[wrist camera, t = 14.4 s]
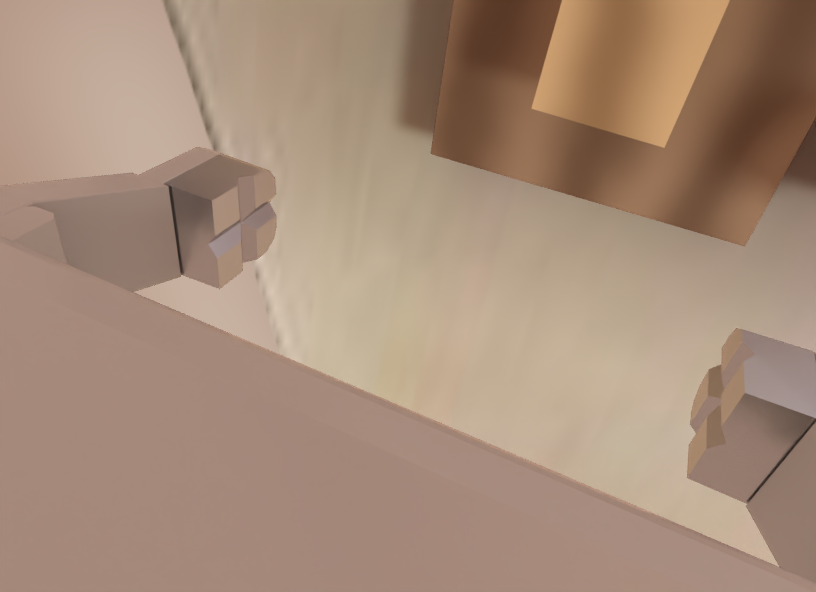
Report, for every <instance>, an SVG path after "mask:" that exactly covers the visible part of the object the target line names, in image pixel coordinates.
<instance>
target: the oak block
mask: <svg viewBox="0 0 816 592" xmlns="http://www.w3.org/2000/svg"><path fill="white" fill-rule="evenodd" d="M729 1H730V0H562V2H561V6H560V9H559V13H558V16H557V20H556V23H555V27H554V30H553V34H552V37H551V41H550V44H549V48H548V52H547V55H546V59H545V62H544V66H543V69H542V73H541V76H540V80H539V83H538V87H537V90H536V94H535V97H534V101H533V104H532V108H531V109H534V110H538V111H541V112H545V113H548V114H551V115H555V116H558V117H561V118H565V119H568V120H572V121H575V122H578V123H582V124H585V125H589V126H592V127H595V128H599V129H602V130H606V131H609V132H612V133H616V134H619V135H622V136H626V137H629V138H633V139H636V140H639V141H643V142H646V143H650V144H653V145H656V146H660V147H663V148H665V145H666V143H667V141H668V139H669V136H670V134H671V132H672V130H673V127H674V125H675V123H676V121H677V118H678V116H679V114H680V112H681V109H682V107H683V105H684V103H685V100H686V98H687V96H688V94H689V91H690V89H691V87H692V85H693V82H694V80H695V78H696V76H697V73H698V71H699V69H700V67H701V64H702V62H703V60H704V58H705V55H706V53H707V51H708V49H709V46H710V44H711V42H712V40H713V37H714V35H715V33H716V31H717V28H718V26H719V24H720V22H721V19H722V17H723V15H724V13H725V10H726V8H727V6H728V4H729Z"/></svg>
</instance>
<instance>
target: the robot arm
mask: <svg viewBox="0 0 816 592" xmlns="http://www.w3.org/2000/svg"><path fill="white" fill-rule="evenodd" d="M275 195H276V184H275V177H274V176H273V174H272V173H271V172H270V171H269V170H266V169H263V168H261V167H258V166H255V165H252V164H250V163H247V162H244V161H241V160H238V159H236V158H233V157H230V156H227V155H224V154H223V153H219V152H216V151H213V150H210V149H206V148H201V147H196V148H194V149H192V150H190V151H188V152H185V153H183V154H181V155H179V156H177V157H175V158H173V159H171V160H169V161H167V162H165V163H163V164H161V165H158V166H156V167H154V168H152V169H150V170H148V171H146V172H144V173H142V174H140V175H137V174H134V173H124V174H114V175H104V176H94V177H84V178H74V179H63V180H53V181H43V182H33V183H23V184H13V185H2V186H0V592H816V352H813V351H810V350H807V349H804V348H801V347H797V346H794V345H791V344H788V343H784V342H781V341H778V340H775V339H772V338H768V337H765V336H762V335H759V334H755V333H752V332H749V331H746V330H743V329H738V328H736V329H735V330H734V331H733V333H732V334H731V335H730V336H729V337H728V339H727V341H726V342H725V344H724V345H723V347H722V362H721V365H718V366H716V367H713V368H711V369H709V370H708V372H707V374H706V375H705V377H704V379H703V381H702V383H701V384H700V386H699V389H698V391H697V394H696V397H695V399H694V402H693V407H692V411H691V420H690V425H691V426H692V428H693V429H694V431H695V432H696V435H695V436H694V438H693V439H692V441H691V443H690V444H689V450H688V469H687V478H688V479H691V480H693V481H695V482H698V483H700V484H702V485H705V486H707V487H709V488H712V489H714V490H716V491H719V492H721V493H723V494H726V495H728V496H730V497H732V498H735V499H737V500H739V501H742V502H744V503H746V504H747V505H746V507H747V509H748V511H749V512H750V514H751V516H752V518H753V520H754V522H755V523H756V525H757V527H758V529H759V531H760V532H761V534H762V536H763V538H764V540H765V541H766V543H767V545H768V547H769V549H770V551H771V552H772V554H773V556H774V558H775V560H776V561H777V563H778V565H779V567H778V566H775V565H773V564H771V563H768V562H766V561H764V560H761V559H759V558H757V557H754V556H752V555H750V554H747V553H745V552H743V551H740V550H738V549H736V548H733V547H731V546H729V545H726V544H724V543H721V542H719V541H717V540H714V539H712V538H710V537H707V536H705V535H703V534H700V533H698V532H696V531H693V530H691V529H689V528H686V527H684V526H682V525H679V524H677V523H674V522H672V521H670V520H667V519H665V518H663V517H660V516H658V515H656V514H653V513H651V512H649V511H646V510H644V509H642V508H639V507H637V506H634V505H632V504H630V503H627V502H625V501H623V500H620V499H618V498H616V497H613V496H611V495H609V494H606V493H604V492H602V491H599V490H597V489H594V488H592V487H590V486H587V485H585V484H583V483H580V482H578V481H576V480H573V479H571V478H569V477H566V476H564V475H562V474H559V473H557V472H554V471H552V470H550V469H547V468H545V467H543V466H540V465H538V464H536V463H533V462H531V461H529V460H526V459H524V458H522V457H519V456H517V455H514V454H512V453H510V452H507V451H505V450H503V449H500V448H498V447H496V446H493V445H491V444H489V443H486V442H484V441H482V440H479V439H477V438H475V437H472V436H470V435H467V434H465V433H463V432H460V431H458V430H456V429H453V428H451V427H449V426H446V425H444V424H442V423H439V422H437V421H435V420H432V419H430V418H427V417H425V416H423V415H420V414H418V413H416V412H413V411H411V410H409V409H406V408H404V407H402V406H399V405H397V404H395V403H392V402H390V401H387V400H385V399H383V398H380V397H378V396H376V395H373V394H371V393H369V392H366V391H364V390H362V389H359V388H357V387H355V386H352V385H350V384H348V383H345V382H343V381H341V380H338V379H336V378H333V377H331V376H329V375H326V374H324V373H322V372H319V371H317V370H315V369H312V368H310V367H308V366H305V365H303V364H301V363H298V362H296V361H294V360H291V359H289V358H286V357H284V356H282V355H279V354H277V353H275V352H272V351H270V350H268V349H265V348H263V347H261V346H258V345H256V344H253V343H251V342H249V341H247V340H244V339H242V338H239V337H237V336H235V335H232V334H230V333H228V332H225V331H223V330H221V329H218V328H216V327H214V326H211V325H209V324H206V323H204V322H202V321H200V320H197V319H195V318H192V317H190V316H188V315H185V314H183V313H181V312H178V311H176V310H174V309H171V308H169V307H167V306H164V305H162V304H160V303H157V302H155V301H153V300H150V299H147V298H146V297H143V296H141V295H138V294H136V293H134V292H135V291H138V290H141V289H144V288H147V287H150V286H153V285H156V284H160V283H163V282H166V281H169V280H172V279H174V278H178V277H181V275H184V276H186V277H189V278H192V279H195V280H197V281H200V282H203V283H205V284H208V285H211V286H213V287H216V288H219V289H220V288H222V287H223V286H224V285H225V284H227V283H228V282H229V281H230V280H232V279H233V278H234V277H236V276H237V275H238V274H239V273H241V272H242V271H243V262H247V261H252V260H257V259H258V258H260V257H261V256H262V255H263V254H264V253H265V252H267V250H268V248H269V246H270V245H271V243H272V241H273V239H274V236H275V231H276V214H275V212H274V210H273V208H272V206H271V205H270V203H269V202H270V201H271V200H272V199H273V197H274V196H275Z"/></svg>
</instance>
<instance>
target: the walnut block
mask: <svg viewBox="0 0 816 592" xmlns="http://www.w3.org/2000/svg"><path fill="white" fill-rule="evenodd" d="M561 2H562V0H454V1H453V8H452V15H451V21H450V28H449V35H448V41H447V48H446V55H445V61H444V68H443V75H442V81H441V88H440V95H439V101H438V108H437V115H436V121H435V128H434V135H433V141H432V148H431V154H433V155H436V156H440V157H443V158H446V159H450V160H453V161H457V162H460V163H463V164H467V165H470V166H474V167H477V168H480V169H484V170H487V171H491V172H494V173H497V174H501V175H504V176H508V177H511V178H514V179H518V180H521V181H525V182H528V183H531V184H535V185H538V186H542V187H545V188H548V189H552V190H555V191H559V192H562V193H565V194H569V195H572V196H576V197H579V198H582V199H586V200H589V201H593V202H596V203H599V204H603V205H606V206H609V207H613V208H616V209H620V210H623V211H626V212H630V213H633V214H637V215H640V216H643V217H647V218H650V219H654V220H657V221H660V222H664V223H667V224H671V225H674V226H677V227H681V228H684V229H688V230H691V231H694V232H698V233H701V234H705V235H708V236H711V237H715V238H718V239H722V240H725V241H728V242H732V243H735V244H739V245H742V246H745V245H746V243H747V241H748V239H749V238H750V236H751V234H752V232H753V230H754V228H755V227H756V225H757V223H758V221H759V219H760V218H761V216H762V214H763V212H764V210H765V209H766V207H767V205H768V203H769V201H770V199H771V198H772V196H773V194H774V192H775V190H776V189H777V187H778V185H779V183H780V181H781V180H782V178H783V176H784V174H785V172H786V170H787V169H788V167H789V165H790V163H791V161H792V160H793V158H794V156H795V154H796V152H797V150H798V149H799V147H800V145H801V143H802V141H803V140H804V138H805V136H806V134H807V132H808V131H809V129H810V127H811V125H812V123H813V121H814V120H815V118H816V0H730V1H729V4H728V6H727V8H726V10H725V13H724V15H723V17H722V19H721V22H720V24H719V26H718V28H717V31H716V33H715V35H714V37H713V40H712V42H711V44H710V46H709V49H708V51H707V53H706V55H705V58H704V60H703V62H702V64H701V67H700V69H699V71H698V73H697V76H696V78H695V80H694V82H693V85H692V87H691V89H690V91H689V94H688V96H687V98H686V100H685V103H684V105H683V107H682V109H681V112H680V114H679V116H678V118H677V121H676V123H675V125H674V127H673V130H672V132H671V134H670V136H669V139H668V141H667V143H666V145H665V148H663V147H660V146H656V145H653V144H650V143H646V142H643V141H639V140H636V139H633V138H629V137H626V136H622V135H619V134H616V133H612V132H609V131H606V130H602V129H599V128H595V127H592V126H589V125H585V124H582V123H578V122H575V121H572V120H568V119H565V118H561V117H558V116H555V115H551V114H548V113H545V112H541V111H538V110H534V109H531V108H532V104H533V101H534V97H535V94H536V90H537V87H538V83H539V80H540V76H541V73H542V69H543V66H544V62H545V59H546V55H547V52H548V48H549V44H550V41H551V37H552V34H553V30H554V27H555V23H556V20H557V16H558V13H559V9H560V6H561Z"/></svg>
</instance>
